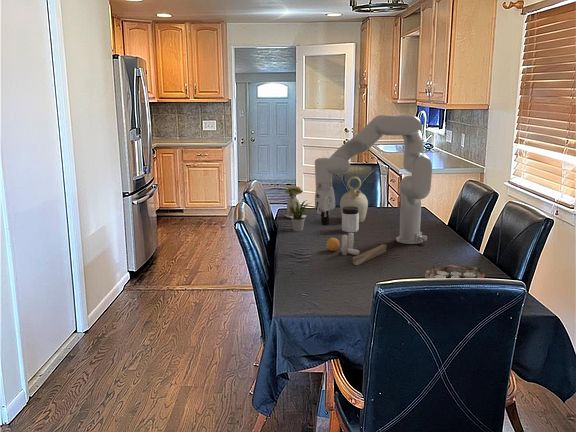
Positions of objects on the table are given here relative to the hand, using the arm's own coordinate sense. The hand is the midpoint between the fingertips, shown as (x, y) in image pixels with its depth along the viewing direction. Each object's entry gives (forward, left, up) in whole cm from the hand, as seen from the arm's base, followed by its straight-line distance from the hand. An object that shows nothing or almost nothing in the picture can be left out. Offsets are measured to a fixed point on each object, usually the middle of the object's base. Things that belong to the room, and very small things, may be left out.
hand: (325, 224), depth 243 cm
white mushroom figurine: (+50, -39, -11) cm, 65 cm away
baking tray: (-66, +9, -12) cm, 68 cm away
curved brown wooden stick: (-25, +1, -11) cm, 27 cm away
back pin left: (-13, +3, -11) cm, 17 cm away
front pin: (-10, +1, -10) cm, 14 cm away
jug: (+19, -53, -11) cm, 58 cm away
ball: (-6, +2, -8) cm, 10 cm away
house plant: (+30, -19, -11) cm, 38 cm away
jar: (+8, -33, -11) cm, 36 cm away
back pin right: (-13, -2, -11) cm, 17 cm away
